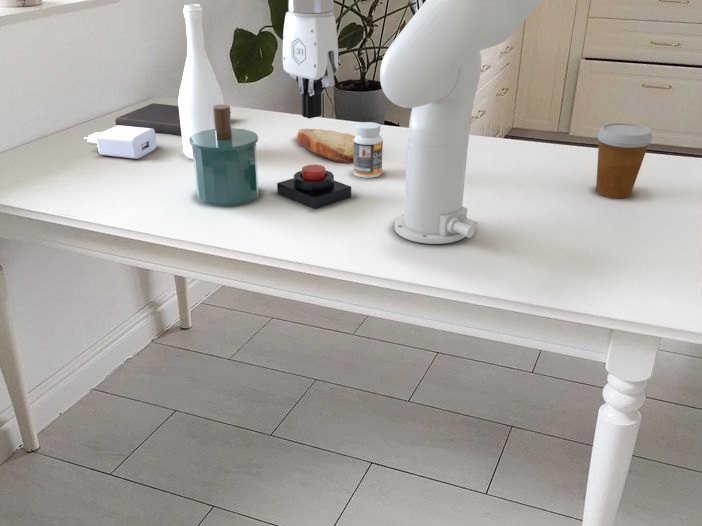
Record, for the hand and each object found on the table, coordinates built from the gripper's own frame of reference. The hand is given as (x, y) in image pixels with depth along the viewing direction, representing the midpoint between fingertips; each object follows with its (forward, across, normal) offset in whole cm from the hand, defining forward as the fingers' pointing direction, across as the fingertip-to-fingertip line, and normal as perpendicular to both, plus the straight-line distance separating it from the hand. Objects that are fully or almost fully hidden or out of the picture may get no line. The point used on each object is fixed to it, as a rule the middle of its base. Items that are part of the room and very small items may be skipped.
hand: (311, 116), depth 134 cm
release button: (+11, 0, 0) cm, 11 cm away
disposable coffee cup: (+15, +37, +43) cm, 59 cm away
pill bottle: (+15, -2, +16) cm, 22 cm away
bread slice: (+15, -20, +21) cm, 33 cm away
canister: (+15, -11, -12) cm, 22 cm away
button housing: (+15, 0, 0) cm, 15 cm away
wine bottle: (+15, -35, -1) cm, 38 cm away
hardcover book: (+15, -61, +7) cm, 63 cm away
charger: (+15, -51, -14) cm, 55 cm away
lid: (+4, -11, -12) cm, 17 cm away
